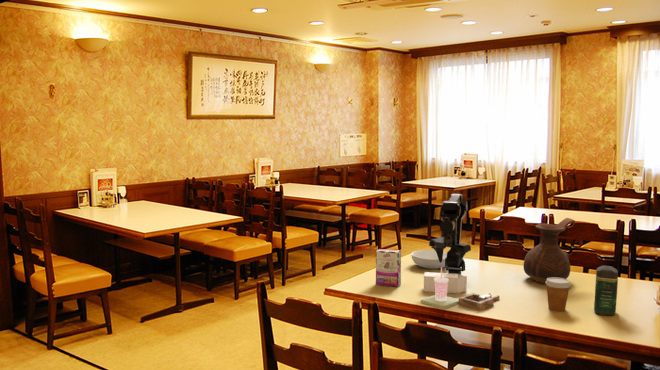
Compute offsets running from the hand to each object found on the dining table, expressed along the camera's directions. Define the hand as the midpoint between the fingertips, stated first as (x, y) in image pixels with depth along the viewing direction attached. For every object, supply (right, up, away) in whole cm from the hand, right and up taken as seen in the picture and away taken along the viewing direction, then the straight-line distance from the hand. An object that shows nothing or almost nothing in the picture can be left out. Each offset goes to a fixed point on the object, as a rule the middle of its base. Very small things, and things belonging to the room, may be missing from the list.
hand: (449, 264), depth 247 cm
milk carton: (-10, -9, +6) cm, 15 cm away
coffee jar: (+57, -16, -25) cm, 64 cm away
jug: (+52, -11, +22) cm, 57 cm away
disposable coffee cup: (+39, -15, -21) cm, 47 cm away
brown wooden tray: (+11, -14, -13) cm, 22 cm away
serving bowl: (+1, -8, +48) cm, 49 cm away
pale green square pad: (-6, -14, -13) cm, 20 cm away
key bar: (+13, -14, -11) cm, 22 cm away
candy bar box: (-26, -12, +14) cm, 32 cm away
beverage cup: (-6, -13, -12) cm, 19 cm away
